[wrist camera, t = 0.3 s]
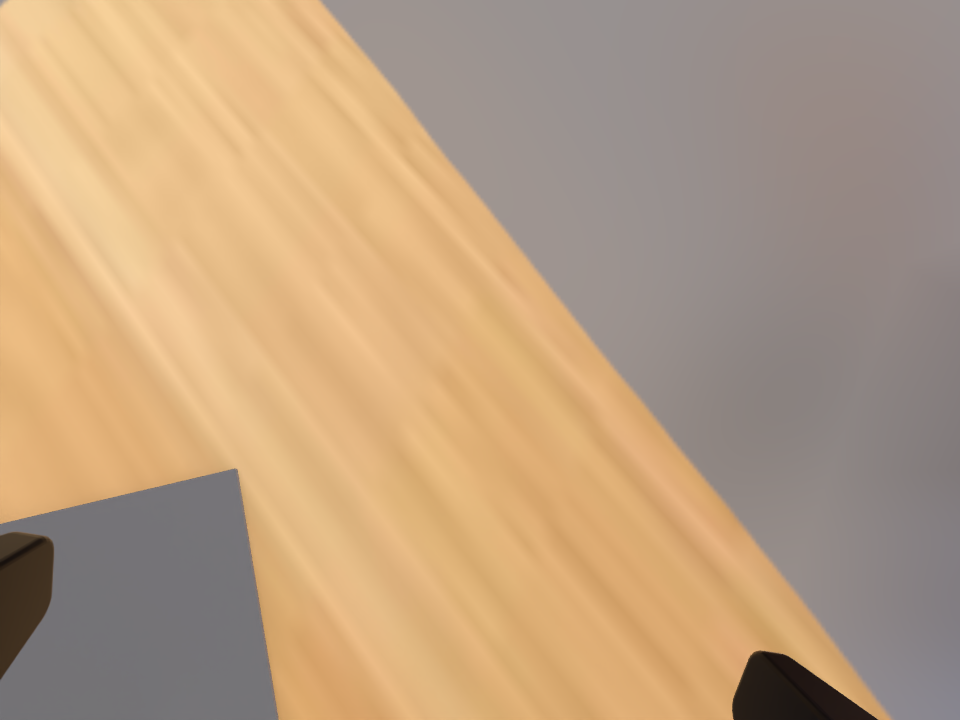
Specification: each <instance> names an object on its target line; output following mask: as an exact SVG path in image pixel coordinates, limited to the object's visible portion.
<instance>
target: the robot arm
mask: <svg viewBox="0 0 960 720" xmlns="http://www.w3.org/2000/svg"><path fill="white" fill-rule="evenodd" d="M53 567H54V544H53V541H52V540H51V539H50V538H49V537H47V536H43V535H36V534H30V533H24V532H10V533H6V534H3V535H0V680H1V679H2V677H3V676H4V674H5V673H6V671H7V670H8V668H9V667H10V666H11V664H12V663H13V661H14V660H15V658H16V657H17V655H18V654H19V653H20V651H21V650H22V648H23V647H24V645H25V644H26V642H27V641H28V639H29V638H30V637H31V635H32V634H33V632H34V631H35V629H36V628H37V626H38V625H39V623H40V622H41V621H42V619H43V617H44V616H45V614H46V612H47V610H48V608H49V605H50V602H51V598H52V586H53ZM732 713H733V719H734V720H878V719H876V718H875V717H874V716H872V715H871V714H869V713H868V712H867V711H865V710H864V709H862V708H861V707H859V706H858V705H857V704H855V703H854V702H852V701H851V700H850V699H848V698H847V697H845V696H844V695H843V694H841V693H840V692H838V691H837V690H836V689H834V688H833V687H831V686H830V685H828V684H827V683H826V682H824V681H823V680H821V679H820V678H819V677H817V676H816V675H814V674H813V673H812V672H810V671H809V670H807V669H806V668H804V667H803V666H802V665H800V664H799V663H797V662H796V661H795V660H793V659H792V658H790V657H789V656H787V655H784V654H779V653H773V652H767V651H756V652H754V653H753V654H752V655H751V656H750V658H749V659H748V662H747V665H746V667H745V670H744V672H743V675H742V677H741V680H740V682H739V685H738V687H737V690H736V693H735V695H734V698H733V704H732Z"/></svg>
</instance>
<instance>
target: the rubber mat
mask: <svg viewBox="0 0 960 720" xmlns="http://www.w3.org/2000/svg"><path fill="white" fill-rule="evenodd" d="M10 532H24V533H30V534H36V535H43V536H47V537H49V538H50V539H51V540H52V541H53V544H54V567H53V586H52V598H51V602H50V605H49V608H48V610H47V612H46V614H45V616H44V617H43V619H42V621H41V622H40V623H39V625H38V626H37V628H36V629H35V631H34V632H33V634H32V635H31V637H30V638H29V639H28V641H27V642H26V644H25V645H24V647H23V648H22V650H21V651H20V653H19V654H18V655H17V657H16V658H15V660H14V661H13V663H12V664H11V666H10V667H9V668H8V670H7V671H6V673H5V674H4V676H3V677H2V679H1V680H0V720H279V719H278V713H277V707H276V701H275V695H274V689H273V683H272V677H271V671H270V665H269V659H268V653H267V646H266V640H265V634H264V628H263V622H262V616H261V610H260V604H259V598H258V592H257V586H256V580H255V574H254V568H253V562H252V556H251V549H250V543H249V537H248V531H247V525H246V519H245V513H244V507H243V501H242V495H241V489H240V483H239V477H238V471H237V469H232V470H228V471H223V472H219V473H215V474H211V475H206V476H202V477H198V478H194V479H189V480H185V481H181V482H177V483H172V484H168V485H164V486H160V487H155V488H151V489H147V490H143V491H138V492H134V493H130V494H126V495H121V496H117V497H113V498H109V499H104V500H100V501H96V502H92V503H88V504H83V505H79V506H75V507H71V508H66V509H62V510H58V511H54V512H49V513H45V514H41V515H37V516H32V517H28V518H24V519H20V520H15V521H11V522H7V523H3V524H0V535H3V534H6V533H10Z"/></svg>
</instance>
